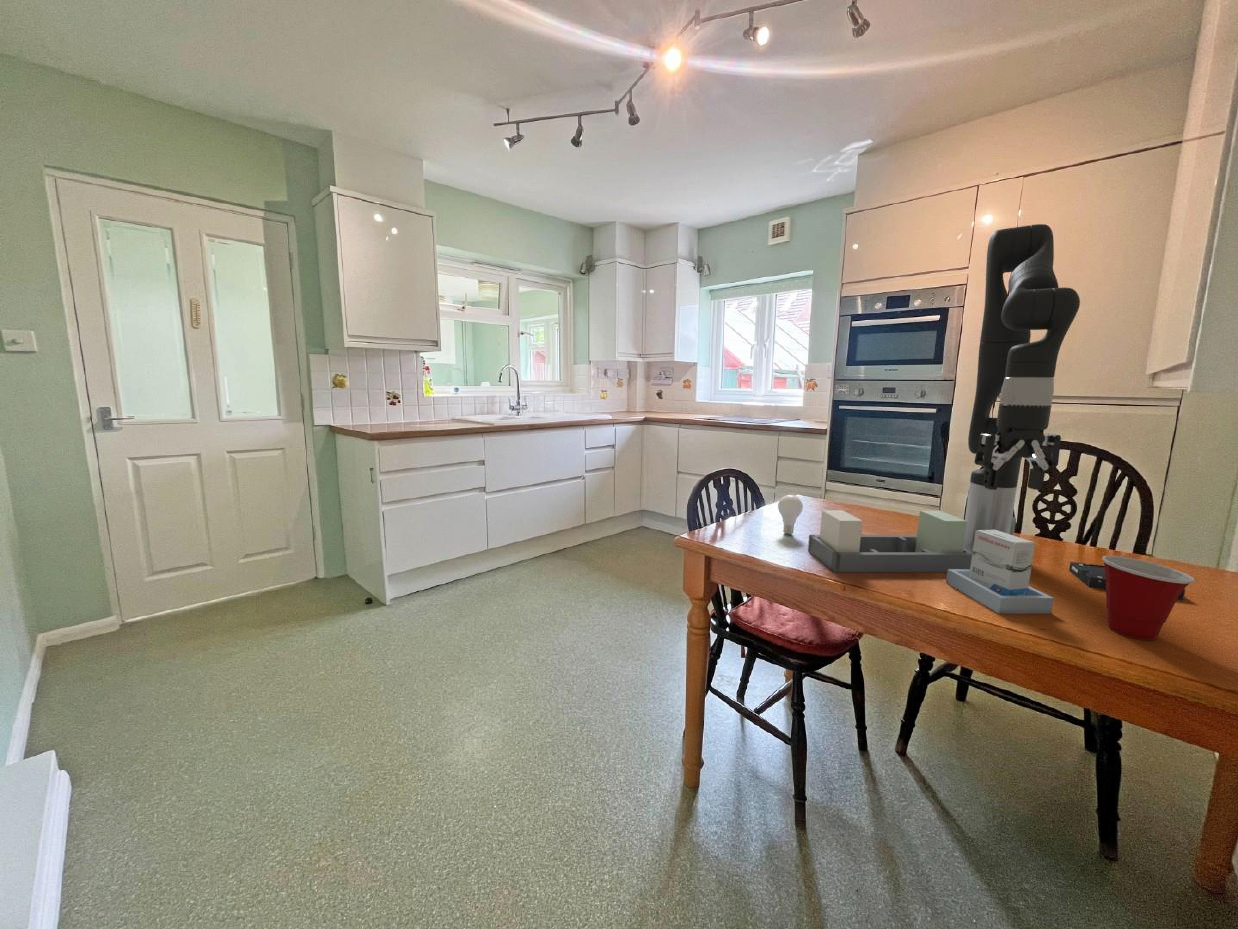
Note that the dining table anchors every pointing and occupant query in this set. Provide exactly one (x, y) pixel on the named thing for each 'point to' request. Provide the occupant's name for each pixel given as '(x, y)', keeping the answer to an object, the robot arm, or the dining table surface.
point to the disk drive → (1095, 575)
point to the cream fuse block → (840, 530)
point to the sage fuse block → (940, 532)
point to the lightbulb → (789, 511)
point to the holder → (888, 556)
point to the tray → (1000, 604)
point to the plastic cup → (1140, 595)
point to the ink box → (1002, 562)
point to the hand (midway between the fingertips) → (1012, 488)
